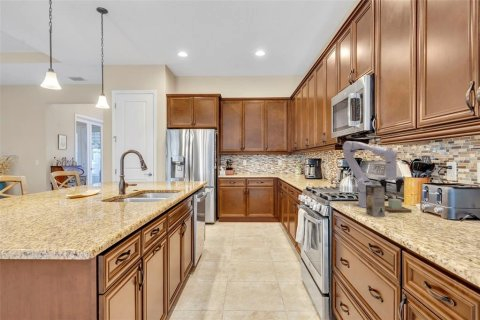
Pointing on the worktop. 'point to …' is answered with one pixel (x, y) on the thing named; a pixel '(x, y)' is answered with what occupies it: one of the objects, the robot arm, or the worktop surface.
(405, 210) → the walnut board
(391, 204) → the sage block
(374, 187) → the coffee box
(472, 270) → the worktop surface
